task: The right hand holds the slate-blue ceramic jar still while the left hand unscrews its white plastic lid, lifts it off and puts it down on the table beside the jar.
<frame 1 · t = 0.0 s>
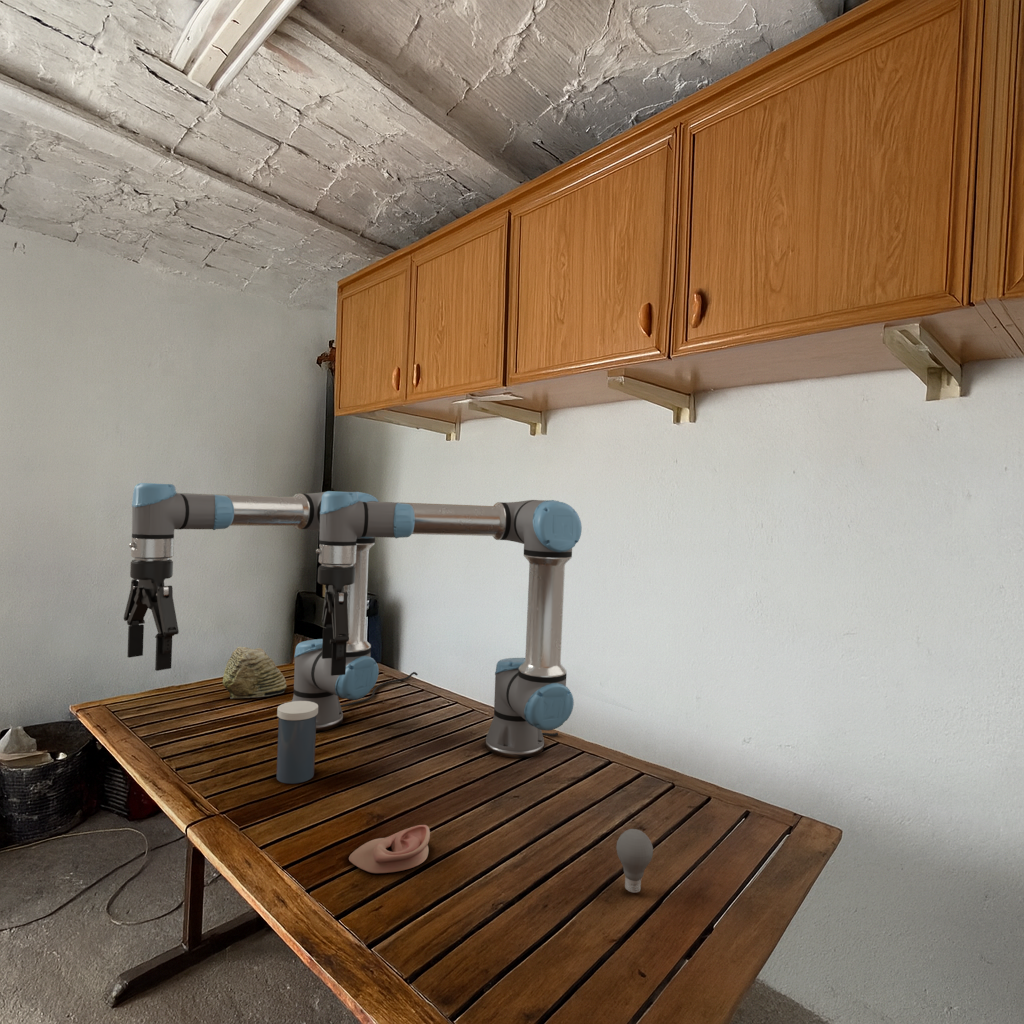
left hand: (148, 662, 129), 28 cm above the table, tool pointing down, fingers open, 13 cm apart
right hand: (333, 666, 133), 28 cm above the table, tool pointing down, fingers open, 13 cm apart
lid: (298, 708, 143), point 15 cm above the table, screwed on, not yet turned
jar: (295, 775, 143), on the table
light bulb: (632, 891, 106), on the table
fossil: (254, 694, 198), on the table
anatomical model: (389, 857, 113), on the table
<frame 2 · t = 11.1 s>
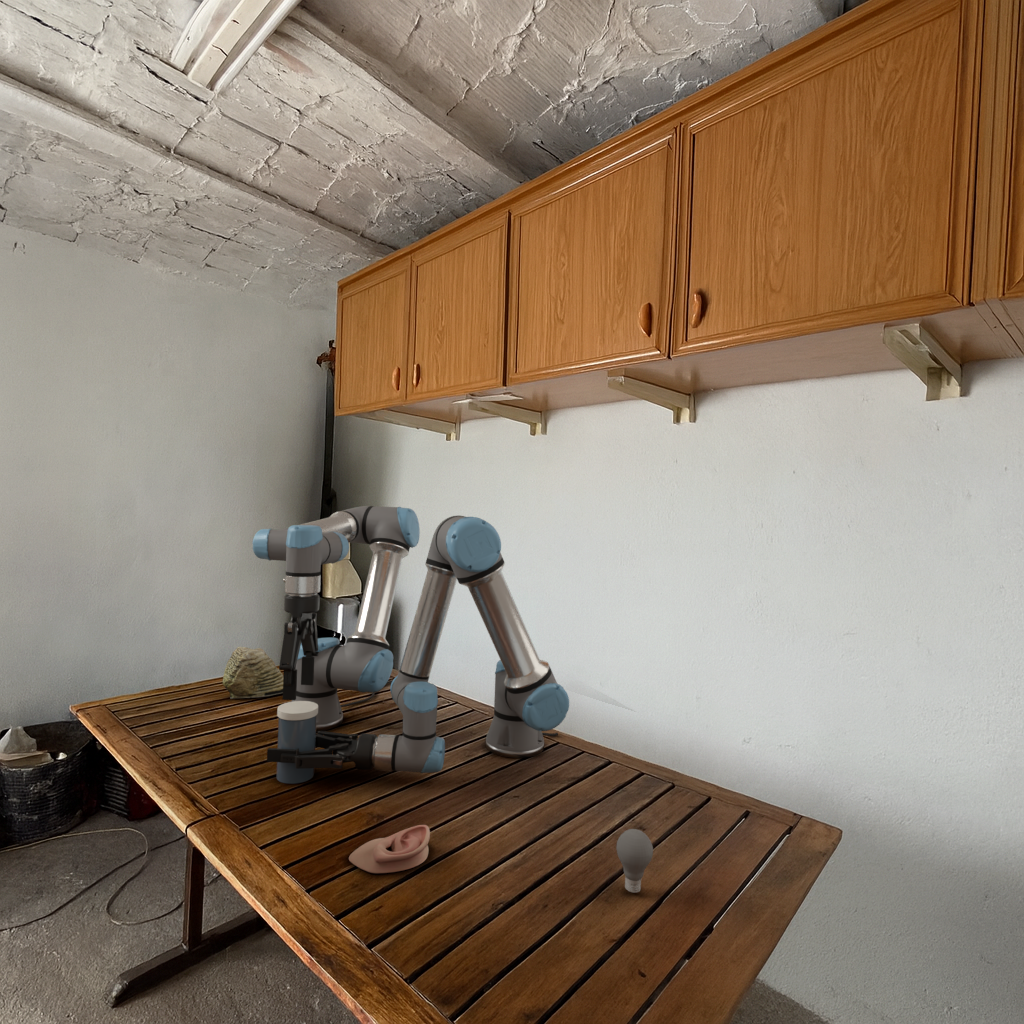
left hand: (298, 691, 143), 19 cm above the table, tool pointing down, fingers open, 10 cm apart
right hand: (275, 747, 143), 6 cm above the table, tool horizontal, fingers closed on jar, 8 cm apart
jar: (295, 775, 143), on the table, touching right hand
everything else where it was.
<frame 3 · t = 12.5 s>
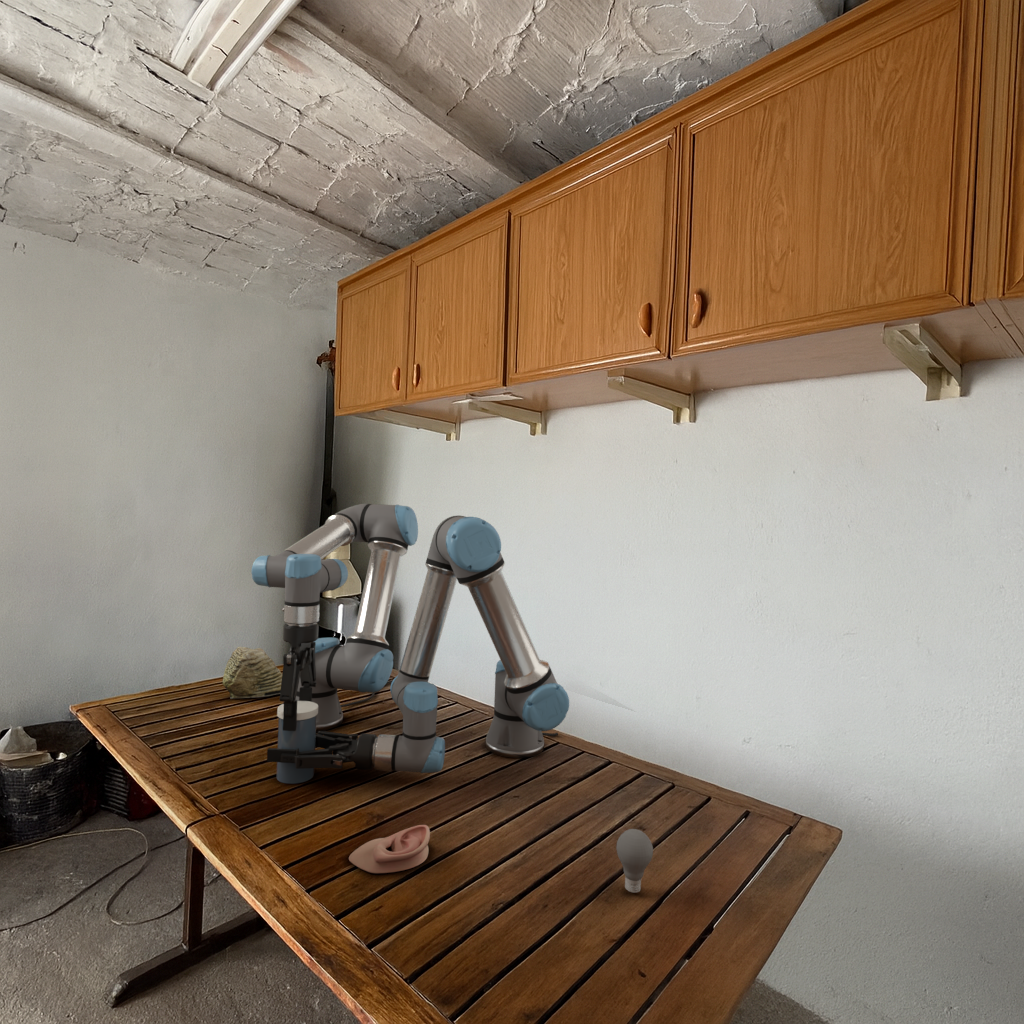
left hand: (297, 722, 143), 12 cm above the table, tool pointing down, fingers closed on lid, 9 cm apart
right hand: (275, 747, 143), 6 cm above the table, tool horizontal, fingers closed on jar, 8 cm apart
lid: (298, 708, 143), point 15 cm above the table, screwed on, not yet turned, touching left hand
jar: (295, 775, 143), on the table, touching right hand
everything else where it was.
when the left hand's fingers open (12 cm above the table, at t = 14.0 s): lid stays where it is, point 16 cm above the table.
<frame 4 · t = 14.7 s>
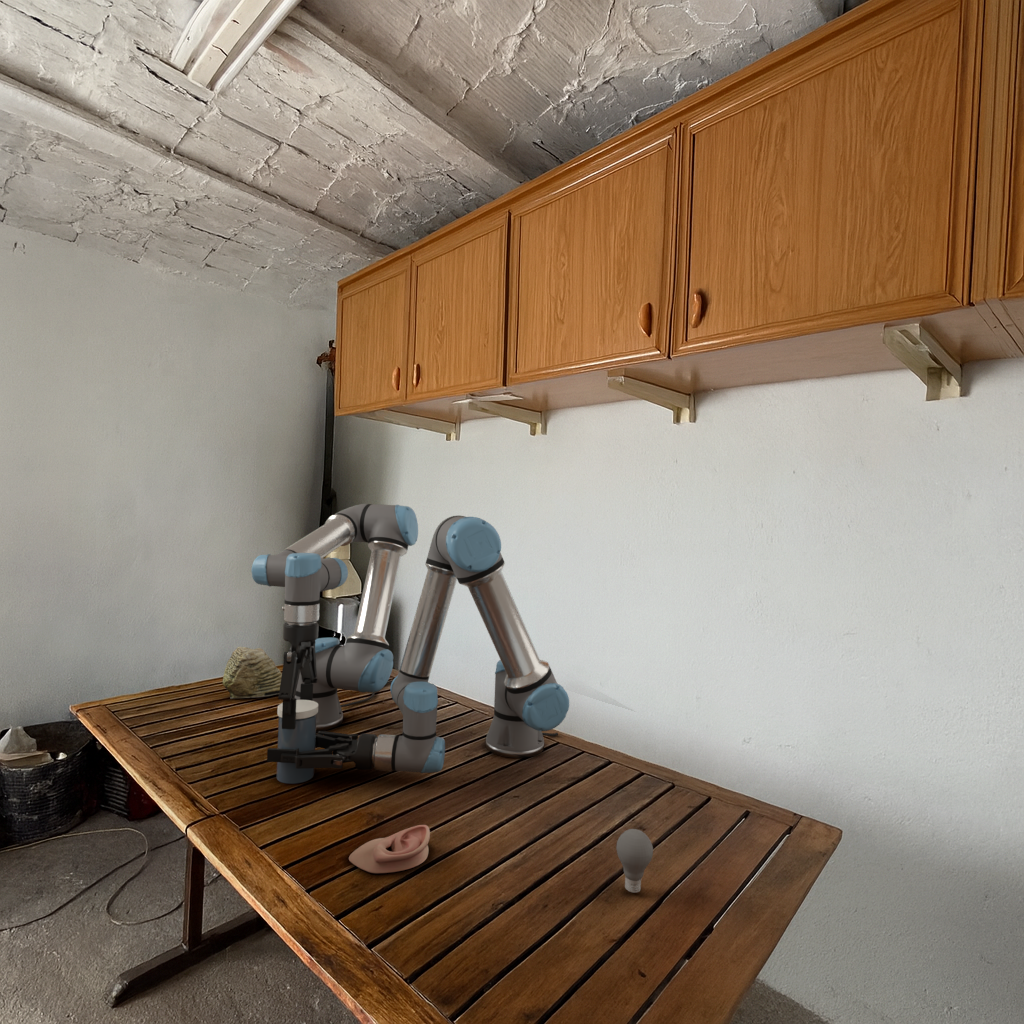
left hand: (297, 719, 143), 13 cm above the table, tool pointing down, fingers open, 10 cm apart
right hand: (275, 747, 143), 6 cm above the table, tool horizontal, fingers closed on jar, 8 cm apart
lid: (298, 707, 143), point 16 cm above the table, turned 79° so far, risen 0.3 cm, still on its thread
jar: (295, 775, 143), on the table, touching right hand
everything else where it was.
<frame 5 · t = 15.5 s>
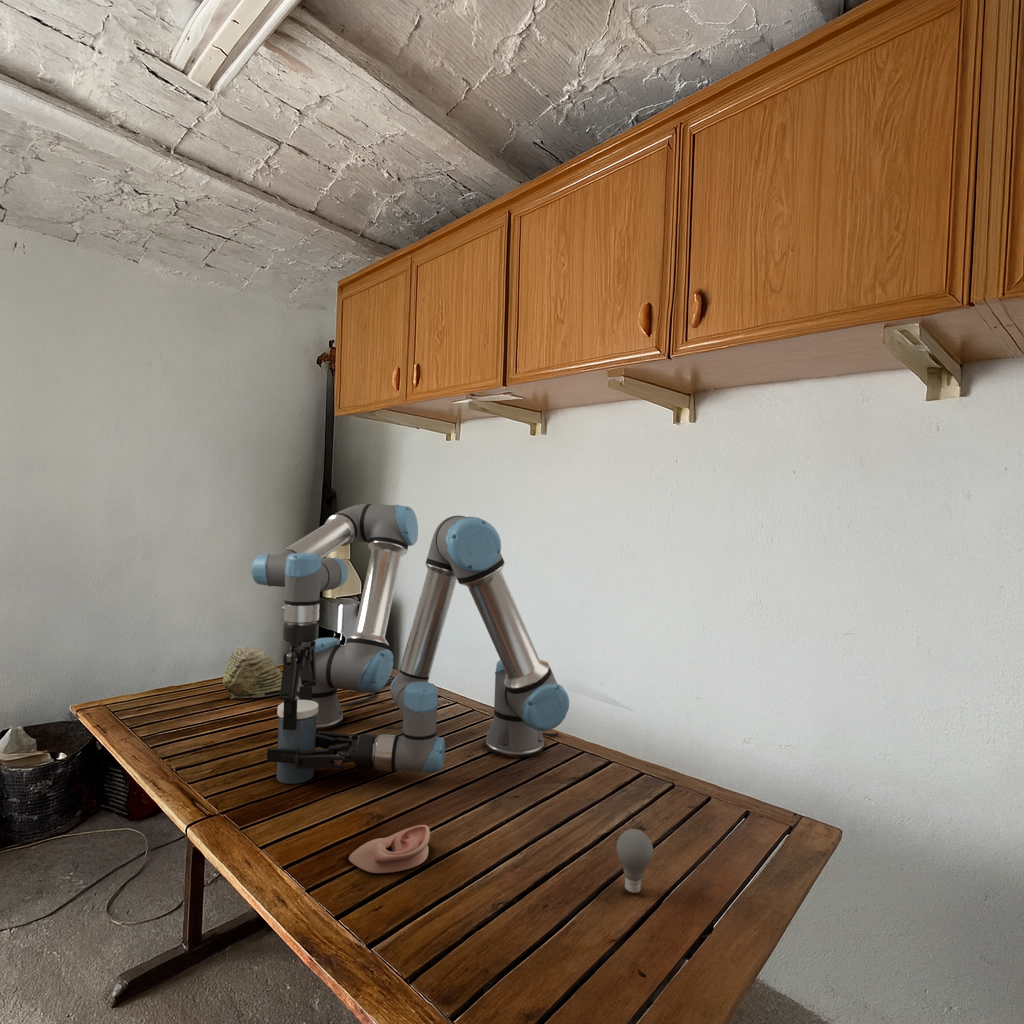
left hand: (297, 721, 143), 12 cm above the table, tool pointing down, fingers closed on lid, 9 cm apart
right hand: (275, 747, 143), 6 cm above the table, tool horizontal, fingers closed on jar, 8 cm apart
lid: (298, 707, 143), point 16 cm above the table, turned 79° so far, risen 0.3 cm, still on its thread, touching left hand
jar: (295, 775, 143), on the table, touching right hand
everything else where it was.
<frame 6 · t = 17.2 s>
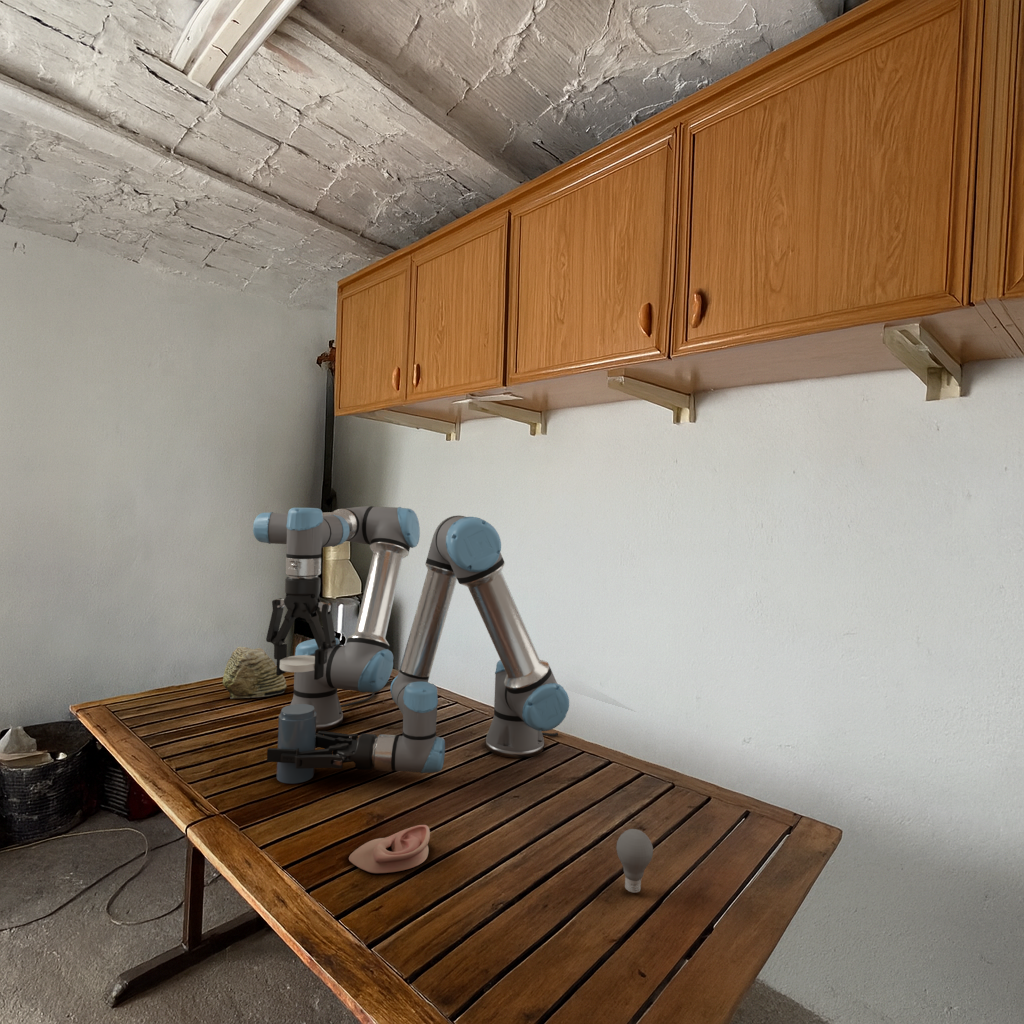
left hand: (299, 675, 143), 23 cm above the table, tool pointing down, fingers closed on lid, 9 cm apart
right hand: (275, 747, 143), 6 cm above the table, tool horizontal, fingers closed on jar, 8 cm apart
lid: (300, 661, 143), point 26 cm above the table, off its thread, touching left hand
jar: (295, 775, 143), on the table, touching right hand
everything else where it was.
when the left hand's fingers open (0 cm above the table, at t = 22.5 s): lid drops 2 cm, point 1 cm above the table.
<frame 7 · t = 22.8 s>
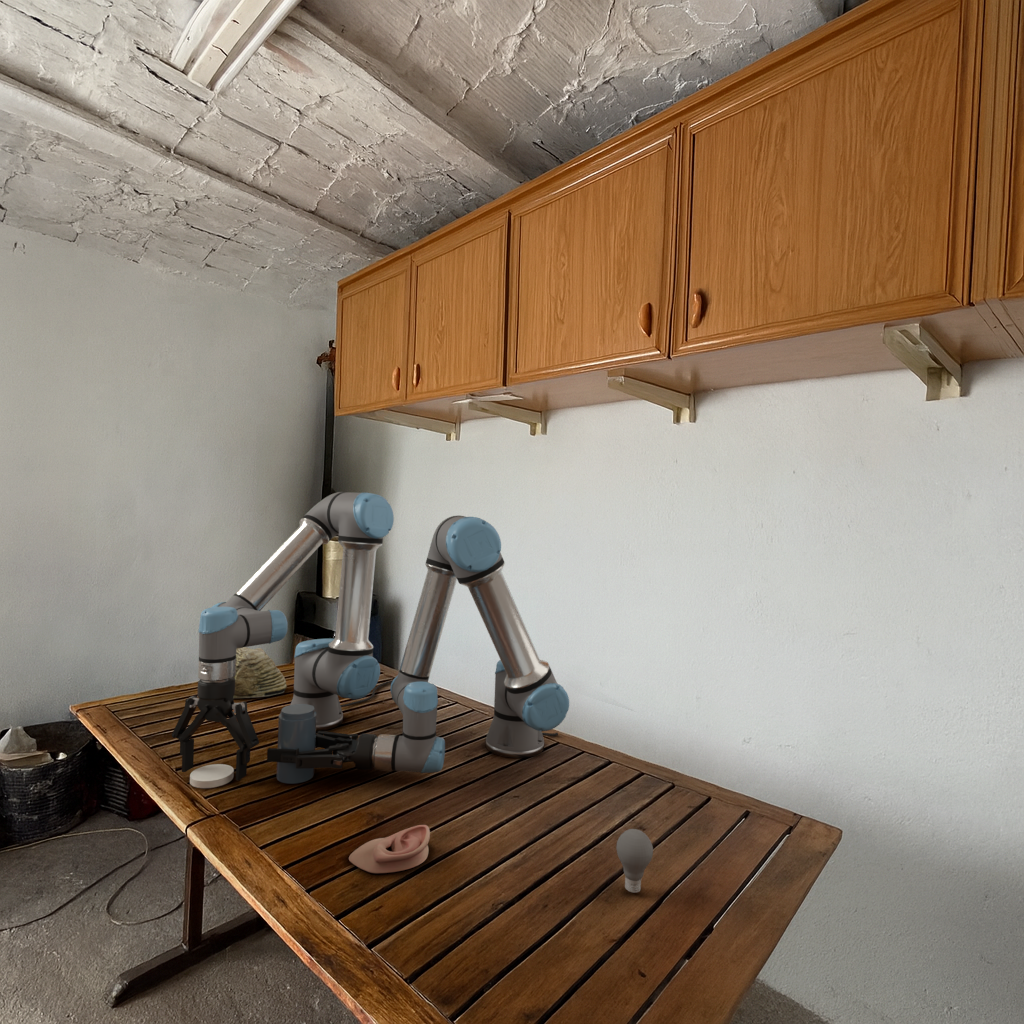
left hand: (214, 773, 140), 1 cm above the table, tool pointing down, fingers open, 13 cm apart
right hand: (275, 746, 143), 6 cm above the table, tool horizontal, fingers closed on jar, 8 cm apart
lid: (212, 773, 140), point 1 cm above the table, off its thread
jar: (295, 775, 143), on the table, touching right hand
everything else where it was.
when the right hand's fingers open (6 cm above the table, at t = 23.4 s): jar stays where it is, on the table.
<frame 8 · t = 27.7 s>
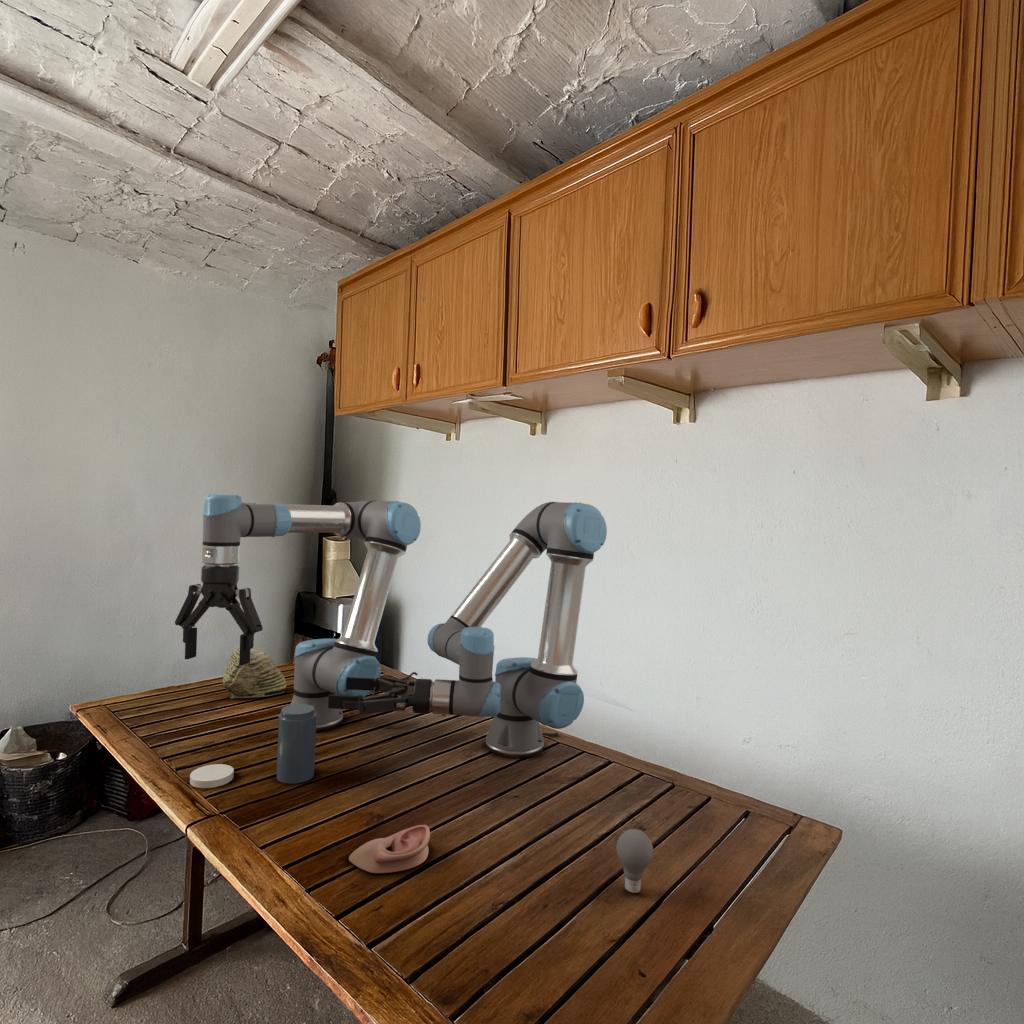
left hand: (217, 661, 139), 26 cm above the table, tool pointing down, fingers open, 13 cm apart
right hand: (337, 691, 143), 19 cm above the table, tool horizontal, fingers open, 13 cm apart
jar: (295, 775, 143), on the table
everything else where it was.
at the end: lid came off its thread; lid point 1.2 cm above the table; the left hand is holding nothing; the right hand is holding nothing; jar tilted 0°; jar moved 0.0 cm from its start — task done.
